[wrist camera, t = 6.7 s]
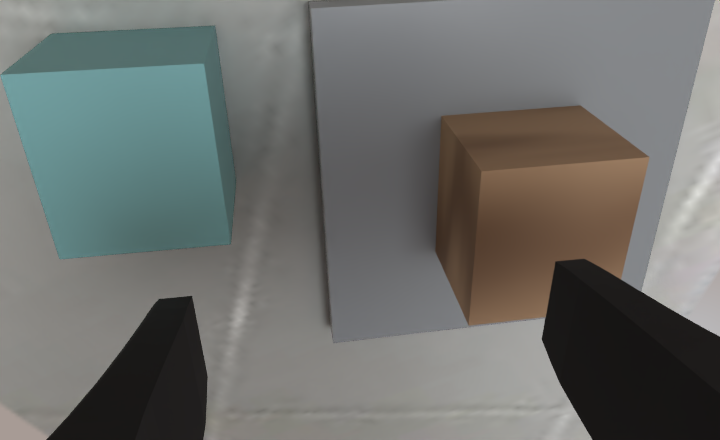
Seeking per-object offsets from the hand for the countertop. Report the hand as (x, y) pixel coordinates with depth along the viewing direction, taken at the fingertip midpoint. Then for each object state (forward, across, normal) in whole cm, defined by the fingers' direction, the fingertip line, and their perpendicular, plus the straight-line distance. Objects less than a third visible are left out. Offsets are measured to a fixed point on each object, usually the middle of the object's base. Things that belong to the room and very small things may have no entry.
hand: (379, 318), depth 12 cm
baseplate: (+9, -6, +2) cm, 11 cm away
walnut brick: (+8, -6, +1) cm, 10 cm away
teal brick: (+9, +6, -1) cm, 11 cm away
